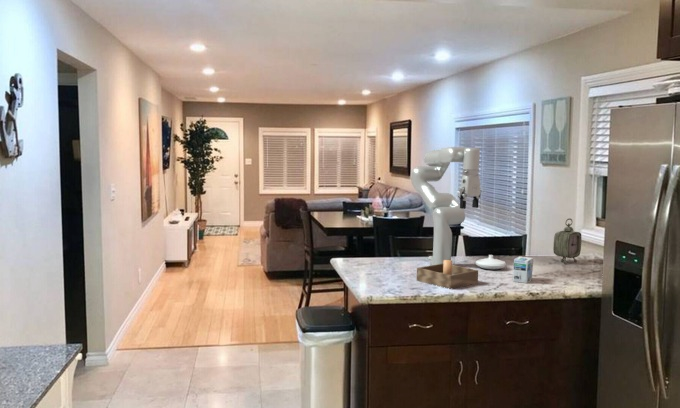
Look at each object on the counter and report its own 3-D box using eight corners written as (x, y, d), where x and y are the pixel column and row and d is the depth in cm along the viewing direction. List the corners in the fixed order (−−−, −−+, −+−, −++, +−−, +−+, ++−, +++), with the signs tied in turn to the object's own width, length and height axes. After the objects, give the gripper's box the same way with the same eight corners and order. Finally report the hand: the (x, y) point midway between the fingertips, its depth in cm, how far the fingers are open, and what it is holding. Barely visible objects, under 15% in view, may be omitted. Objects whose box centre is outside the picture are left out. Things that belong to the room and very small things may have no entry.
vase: (512, 271, 295) (512, 257, 294) (484, 272, 290) (485, 258, 289) (495, 264, 310) (496, 252, 309) (469, 265, 305) (470, 252, 304)
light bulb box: (526, 283, 267) (528, 261, 266) (512, 281, 270) (513, 259, 269) (532, 279, 276) (533, 257, 275) (518, 277, 279) (519, 255, 278)
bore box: (416, 280, 267) (417, 267, 267) (444, 275, 280) (444, 263, 280) (450, 289, 252) (450, 275, 252) (477, 283, 265) (478, 270, 264)
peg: (440, 281, 266) (441, 260, 266) (446, 280, 269) (447, 259, 268) (447, 283, 263) (448, 261, 262) (453, 282, 266) (454, 260, 265)
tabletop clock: (566, 265, 313) (569, 220, 310) (551, 262, 320) (554, 218, 317) (580, 262, 322) (583, 218, 319) (565, 259, 329) (567, 216, 326)
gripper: (465, 173, 270) (463, 209, 272) (487, 173, 281) (486, 208, 283) (453, 173, 276) (451, 208, 278) (475, 172, 287) (473, 206, 288)
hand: (469, 208), depth 280 cm, fingers open, 9 cm apart
